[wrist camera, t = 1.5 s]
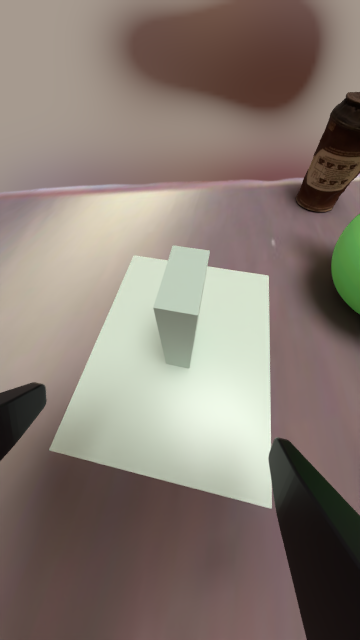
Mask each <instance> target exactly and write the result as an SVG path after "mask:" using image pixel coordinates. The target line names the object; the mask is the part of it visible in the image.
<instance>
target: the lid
mask: <svg viewBox="0 0 360 640" xmlns="http://www.w3.org/2000/svg"><path fill="white" fill-rule="evenodd" d="M209 253H210V251H208V250H201V249H194V248H187V247H180V246H173V247H172V250H171V253H170V256H169V259H168V260H161V259H155V258H148V257H141V256H135V255H134V256H133V259H132V261H131V263H130V266H129V268H128V270H127V272H126V275H125V277H124V279H123V282H122V284H121V286H120V289H119V291H118V293H117V295H116V298H115V300H114V302H113V305H112V307H111V309H110V311H109V314H108V316H107V318H106V321H105V323H104V325H103V328H102V330H101V332H100V334H99V337H98V339H97V341H96V344H95V346H94V348H93V350H92V353H91V355H90V357H89V360H88V362H87V364H86V367H85V369H84V371H83V373H82V376H81V378H80V380H79V383H78V385H77V387H76V389H75V392H74V394H73V396H72V399H71V401H70V403H69V405H68V408H67V410H66V412H65V415H64V417H63V419H62V422H61V424H60V426H59V428H58V431H57V433H56V435H55V438H54V440H53V442H52V444H51V447H50V449H49V451H53V452H57V453H61V454H65V455H68V456H72V457H76V458H80V459H84V460H88V461H91V462H95V463H99V464H103V465H107V466H110V467H114V468H118V469H122V470H126V471H130V472H133V473H137V474H141V475H145V476H149V477H152V478H156V479H160V480H164V481H168V482H172V483H175V484H179V485H183V486H187V487H191V488H194V489H198V490H202V491H206V492H210V493H214V494H217V495H221V496H225V497H229V498H233V499H236V500H240V501H244V502H248V503H252V504H256V505H259V506H263V507H267V508H271V509H272V489H271V474H270V467H269V460H268V457H269V452H270V450H271V413H270V336H269V276H267V275H261V274H254V273H247V272H241V271H234V270H228V269H221V268H214V267H208V266H207V265H208V259H209Z"/></svg>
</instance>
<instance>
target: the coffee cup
mask: <svg viewBox="0 0 360 640" xmlns="http://www.w3.org/2000/svg"><path fill="white" fill-rule="evenodd" d="M359 173H360V92H350V93H347V95H346V98H345V99H344V100H343V101H342V102H341V103H340V104H338V105H337V106H336V107H335V108H334V109H333V111H332V112H331V114H330V118H329V121H328V124H327V126H326V129H325V132H324V133H323V135H322V138H321V140H320V143H319V145H318V147H317V149H316V152H315V154H314V157H313V160H312V162H311V165H310V167H309V169H308V171H307V173H306V175H305V177H304V180H303V183H302V185H301V188H300V191H299V193H298V195H297V197H296V200H297V202H298V204H299V205H301V206H302V207H304V208H306V209H308V210H312V211H318V212H326V211H329V210H332V208H333V206H334V205H335V203H336V201H337V200H338V198H339V196H340V195H341V194H342V193H343V192H344V191H345V189H346V188H347V186H348V185H349V184H350V182H351V181H352V180H354V179H355V178H356V177H357V176H358V174H359Z"/></svg>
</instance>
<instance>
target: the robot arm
mask: <svg viewBox="0 0 360 640" xmlns="http://www.w3.org/2000/svg"><path fill="white" fill-rule="evenodd" d="M45 405H46V388H45V385H43V384H40V383H36V382H33V383H30V384H27V385H23V386H20V387H17V388H14V389H11V390H8V391H5V392H2V393H0V461H1V460H2V459H3V457H4V456H5V455H6V454H7V453H8V452H9V451H10V450H11V448H12V447H13V446H14V445H15V444H16V443H17V441H18V440H19V439H20V438H21V436H22V435H23V434H24V433H25V431H26V430H27V429H28V427H29V426H30V425H31V424H32V422H33V421H34V420H35V418H36V417H37V416H38V415H39V413H40V412H41V411H42V409H43V408H44V407H45ZM268 460H269V467H270V474H271V481H272V487H273V494H274V500H275V507H276V512H277V517H278V522H279V526H280V530H281V535H282V539H283V543H284V547H285V551H286V555H287V559H288V564H289V568H290V572H291V576H292V580H293V584H294V588H295V593H296V597H297V601H298V605H299V609H300V613H301V617H302V621H303V626H304V630H305V634H306V638H307V640H360V516H359V514H358V513H357V512H356V511H355V510H354V509H353V508H352V507H351V506H350V505H349V504H348V503H347V502H346V501H345V500H344V499H343V497H342V496H341V495H340V494H339V493H338V492H337V491H336V490H335V489H334V488H333V487H332V486H331V485H330V484H329V483H328V482H327V480H326V479H325V478H324V477H323V476H322V475H321V474H320V473H319V472H318V471H317V470H316V469H315V468H314V467H313V466H312V465H311V463H310V462H309V461H308V460H307V459H306V458H305V457H304V456H303V455H302V454H301V453H300V452H299V451H298V450H297V449H296V448H295V446H294V445H293V444H292V443H291V442H290V441H288V440H286V439H282V438H275V439H274V442H273V444H272V447H271V450H270V452H269V457H268Z"/></svg>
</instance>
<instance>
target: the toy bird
mask: <svg viewBox="0 0 360 640" xmlns="http://www.w3.org/2000/svg"><path fill="white" fill-rule="evenodd" d="M331 272H332V278H333V282H334V285H335V287H336V289H337V291H338V293H339V294H340V296H341V297H342V299H343V300H344V301H345V302H346V303H347V304H348V305H349V306H350V307H351V308H352V309H353V310H354V311H356V312H357V313H358V314H360V214H359V215H357V216H356V217H355V218H354V219H353V220H352V221H351V222H350V224H349V225H348V226H347V227H346V228H345V230H344V231H343V233H342V234H341V236H340V237H339V239H338V241H337V243H336V246H335V248H334V252H333V255H332V262H331Z"/></svg>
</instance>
